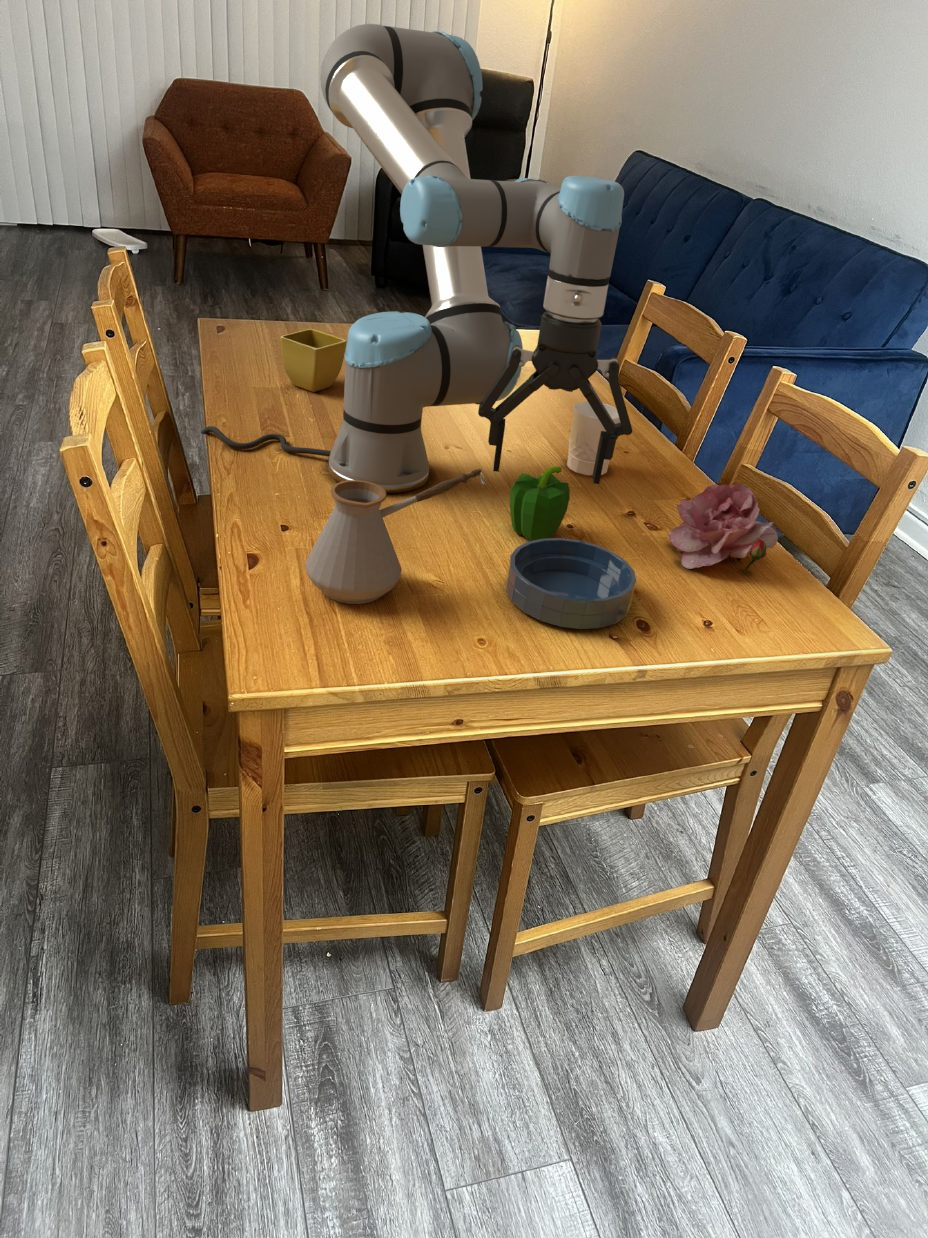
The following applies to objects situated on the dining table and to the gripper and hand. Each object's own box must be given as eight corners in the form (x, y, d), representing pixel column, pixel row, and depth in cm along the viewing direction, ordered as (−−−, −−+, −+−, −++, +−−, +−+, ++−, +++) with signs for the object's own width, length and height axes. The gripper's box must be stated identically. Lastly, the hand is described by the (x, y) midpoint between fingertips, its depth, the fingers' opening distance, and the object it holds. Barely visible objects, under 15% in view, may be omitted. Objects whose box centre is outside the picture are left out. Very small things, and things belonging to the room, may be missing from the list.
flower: (698, 504, 141) (713, 452, 133) (785, 552, 135) (806, 501, 127) (641, 556, 134) (654, 505, 126) (731, 610, 127) (750, 559, 120)
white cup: (608, 481, 152) (621, 422, 147) (560, 472, 153) (571, 413, 148) (611, 463, 159) (623, 406, 154) (565, 455, 160) (576, 398, 154)
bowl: (504, 623, 112) (509, 591, 109) (506, 561, 125) (511, 531, 123) (634, 640, 112) (642, 608, 110) (622, 576, 125) (629, 546, 123)
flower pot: (345, 387, 175) (348, 339, 171) (315, 398, 169) (317, 348, 164) (309, 375, 179) (310, 327, 174) (278, 385, 172) (278, 336, 168)
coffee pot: (316, 617, 108) (321, 498, 100) (295, 568, 117) (298, 455, 109) (487, 600, 116) (504, 489, 108) (455, 555, 125) (469, 449, 117)
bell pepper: (512, 547, 128) (523, 480, 123) (498, 520, 135) (508, 455, 130) (571, 548, 130) (584, 481, 125) (554, 521, 137) (566, 457, 132)
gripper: (471, 309, 113) (452, 473, 124) (676, 335, 114) (639, 496, 125) (473, 295, 120) (456, 452, 131) (668, 320, 120) (634, 474, 131)
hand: (545, 474), depth 128 cm, fingers open, 13 cm apart
